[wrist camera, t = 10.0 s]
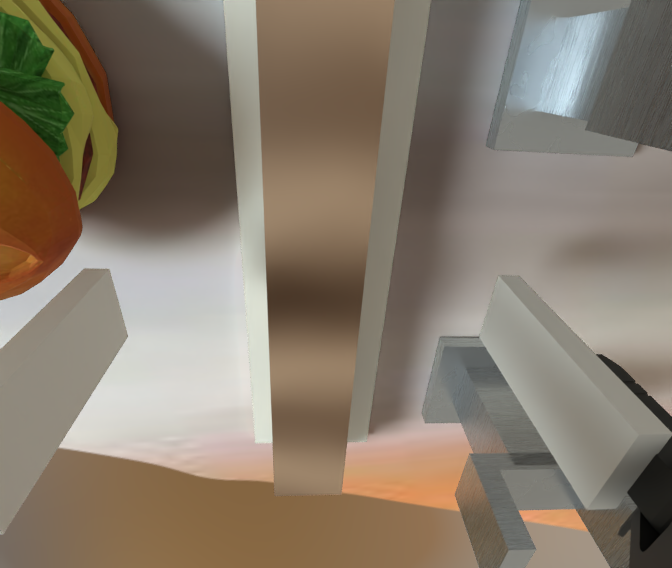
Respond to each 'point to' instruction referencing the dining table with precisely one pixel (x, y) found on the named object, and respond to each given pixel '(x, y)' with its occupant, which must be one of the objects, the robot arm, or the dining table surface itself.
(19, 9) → the cheeseburger
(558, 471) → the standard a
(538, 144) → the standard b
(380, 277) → the white plank
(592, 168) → the dining table surface
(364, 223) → the rail
